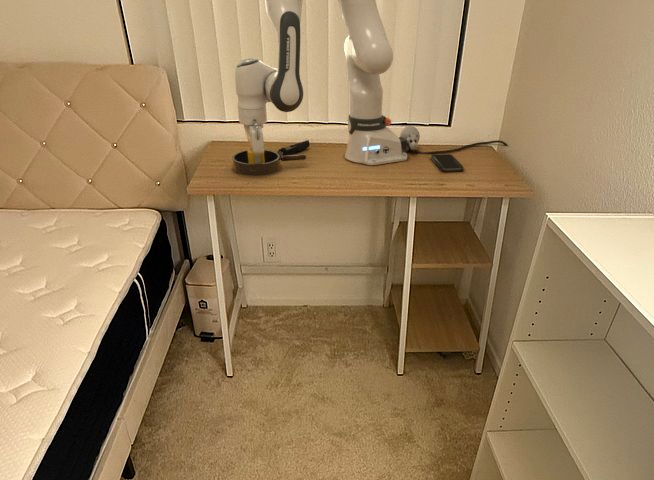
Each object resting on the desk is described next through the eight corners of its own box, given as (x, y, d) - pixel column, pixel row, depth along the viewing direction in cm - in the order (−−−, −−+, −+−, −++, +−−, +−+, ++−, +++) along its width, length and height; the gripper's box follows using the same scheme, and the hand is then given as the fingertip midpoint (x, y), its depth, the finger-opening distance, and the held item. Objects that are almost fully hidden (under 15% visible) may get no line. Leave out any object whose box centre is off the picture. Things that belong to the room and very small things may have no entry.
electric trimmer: (312, 149, 207) (312, 140, 205) (283, 159, 197) (283, 150, 195) (304, 147, 208) (304, 138, 207) (275, 157, 198) (275, 147, 197)
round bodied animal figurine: (402, 157, 200) (404, 133, 195) (397, 147, 210) (399, 123, 205) (422, 157, 201) (424, 132, 196) (416, 147, 210) (418, 123, 205)
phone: (442, 168, 188) (430, 154, 199) (442, 172, 188) (430, 157, 200) (464, 168, 189) (451, 154, 200) (464, 171, 189) (451, 157, 201)
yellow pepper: (264, 164, 191) (262, 145, 187) (266, 169, 187) (264, 150, 183) (248, 165, 190) (246, 146, 186) (250, 171, 186) (248, 151, 182)
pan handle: (305, 158, 192) (305, 153, 191) (306, 160, 190) (306, 155, 189) (279, 160, 190) (279, 155, 189) (280, 162, 188) (280, 156, 187)
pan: (276, 159, 196) (275, 148, 194) (283, 174, 184) (283, 162, 182) (231, 162, 193) (230, 151, 190) (236, 178, 181) (234, 165, 178)
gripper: (267, 124, 171) (270, 169, 179) (258, 108, 187) (261, 150, 195) (246, 125, 170) (250, 170, 178) (239, 108, 185) (243, 151, 194)
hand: (256, 159), depth 187 cm, fingers closed on yellow pepper, 5 cm apart
